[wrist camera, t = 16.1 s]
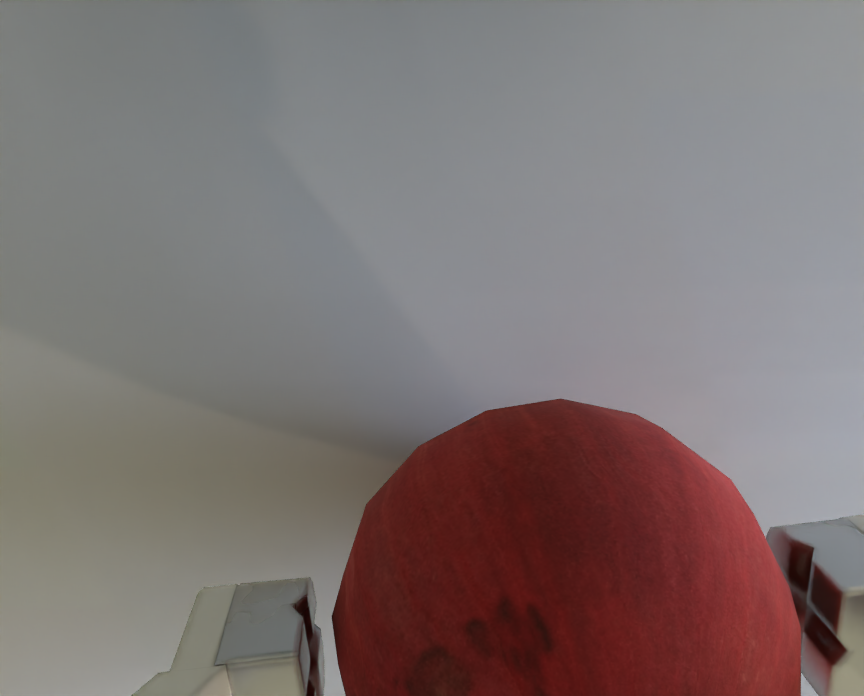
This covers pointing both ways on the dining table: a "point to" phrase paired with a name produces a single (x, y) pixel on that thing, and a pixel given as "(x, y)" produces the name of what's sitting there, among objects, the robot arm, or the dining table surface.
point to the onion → (563, 568)
